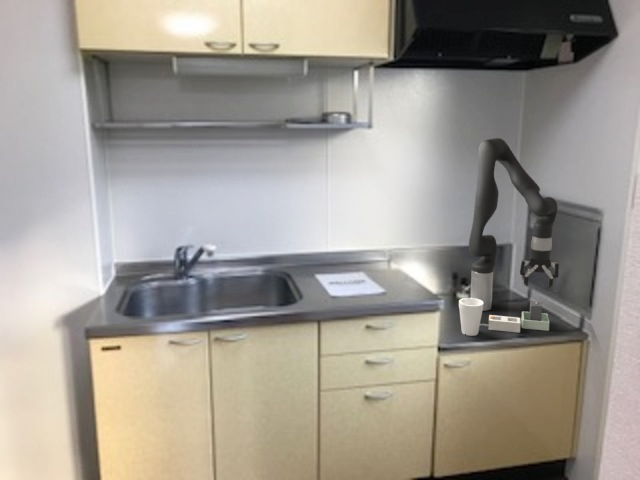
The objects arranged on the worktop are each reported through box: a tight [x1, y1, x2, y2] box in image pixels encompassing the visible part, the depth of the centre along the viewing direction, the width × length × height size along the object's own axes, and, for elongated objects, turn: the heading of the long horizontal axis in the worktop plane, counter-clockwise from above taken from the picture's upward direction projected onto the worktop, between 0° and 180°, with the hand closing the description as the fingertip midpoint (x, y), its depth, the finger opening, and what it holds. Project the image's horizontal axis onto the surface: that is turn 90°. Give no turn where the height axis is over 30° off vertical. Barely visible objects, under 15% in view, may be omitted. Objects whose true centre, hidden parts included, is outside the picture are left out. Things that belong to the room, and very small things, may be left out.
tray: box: [520, 311, 550, 332], centre depth 220 cm, size 10×10×4 cm
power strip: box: [479, 314, 522, 334], centre depth 218 cm, size 6×18×4 cm, turn 72°
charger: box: [529, 300, 543, 321], centre depth 219 cm, size 6×4×9 cm
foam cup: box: [458, 297, 483, 337], centre depth 213 cm, size 10×9×13 cm
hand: (537, 286), depth 216 cm, fingers open, 8 cm apart
